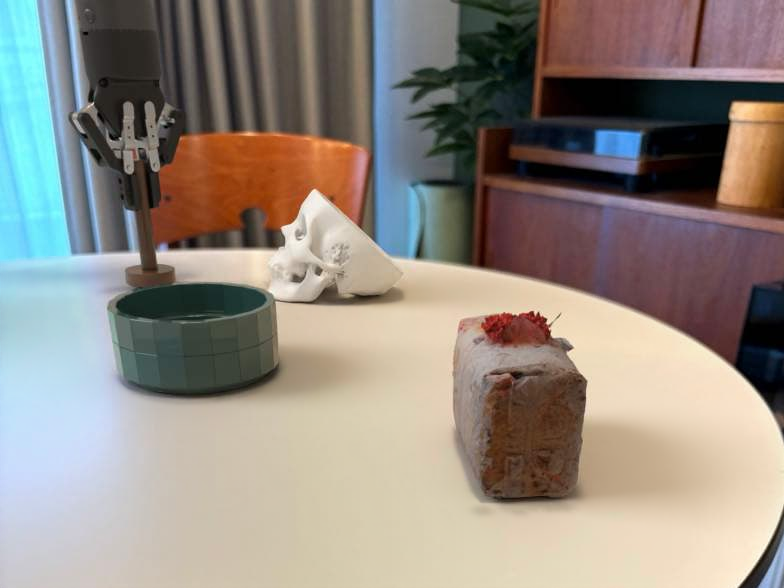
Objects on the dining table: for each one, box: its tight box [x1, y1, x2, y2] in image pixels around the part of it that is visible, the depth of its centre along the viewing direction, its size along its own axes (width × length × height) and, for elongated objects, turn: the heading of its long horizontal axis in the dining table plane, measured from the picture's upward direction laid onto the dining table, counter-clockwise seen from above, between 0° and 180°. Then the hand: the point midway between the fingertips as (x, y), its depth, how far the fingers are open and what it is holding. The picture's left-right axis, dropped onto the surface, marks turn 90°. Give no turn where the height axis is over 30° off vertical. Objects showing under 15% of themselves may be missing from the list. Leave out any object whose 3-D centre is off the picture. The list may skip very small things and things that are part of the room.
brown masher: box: [124, 158, 177, 288], centre depth 93 cm, size 6×6×13 cm
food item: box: [452, 310, 589, 500], centre depth 54 cm, size 14×8×10 cm, turn 5°
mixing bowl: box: [106, 281, 280, 395], centre depth 70 cm, size 13×13×6 cm
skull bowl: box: [266, 188, 405, 303], centre depth 93 cm, size 10×14×12 cm
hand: (141, 208), depth 92 cm, fingers closed on brown masher
